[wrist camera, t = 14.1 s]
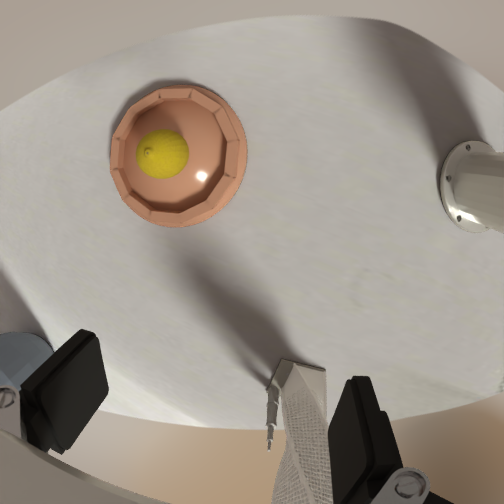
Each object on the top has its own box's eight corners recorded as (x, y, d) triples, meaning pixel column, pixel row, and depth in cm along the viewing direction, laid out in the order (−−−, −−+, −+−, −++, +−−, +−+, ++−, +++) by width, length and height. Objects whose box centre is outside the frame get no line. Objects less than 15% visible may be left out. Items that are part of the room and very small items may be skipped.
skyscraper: (284, 350, 42) (274, 538, 15) (336, 363, 41) (364, 539, 15) (266, 391, 44) (245, 556, 17) (314, 402, 44) (321, 561, 17)
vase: (18, 361, 52) (-43, 417, 28) (9, 293, 46) (-74, 347, 23) (80, 403, 51) (24, 478, 28) (79, 337, 46) (-6, 421, 22)
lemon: (147, 150, 35) (114, 148, 27) (182, 123, 33) (155, 113, 26) (170, 186, 36) (141, 192, 28) (206, 160, 34) (184, 158, 27)
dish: (254, 88, 32) (252, 82, 30) (240, 233, 38) (237, 238, 35) (121, 90, 34) (112, 86, 31) (112, 219, 39) (103, 222, 36)
